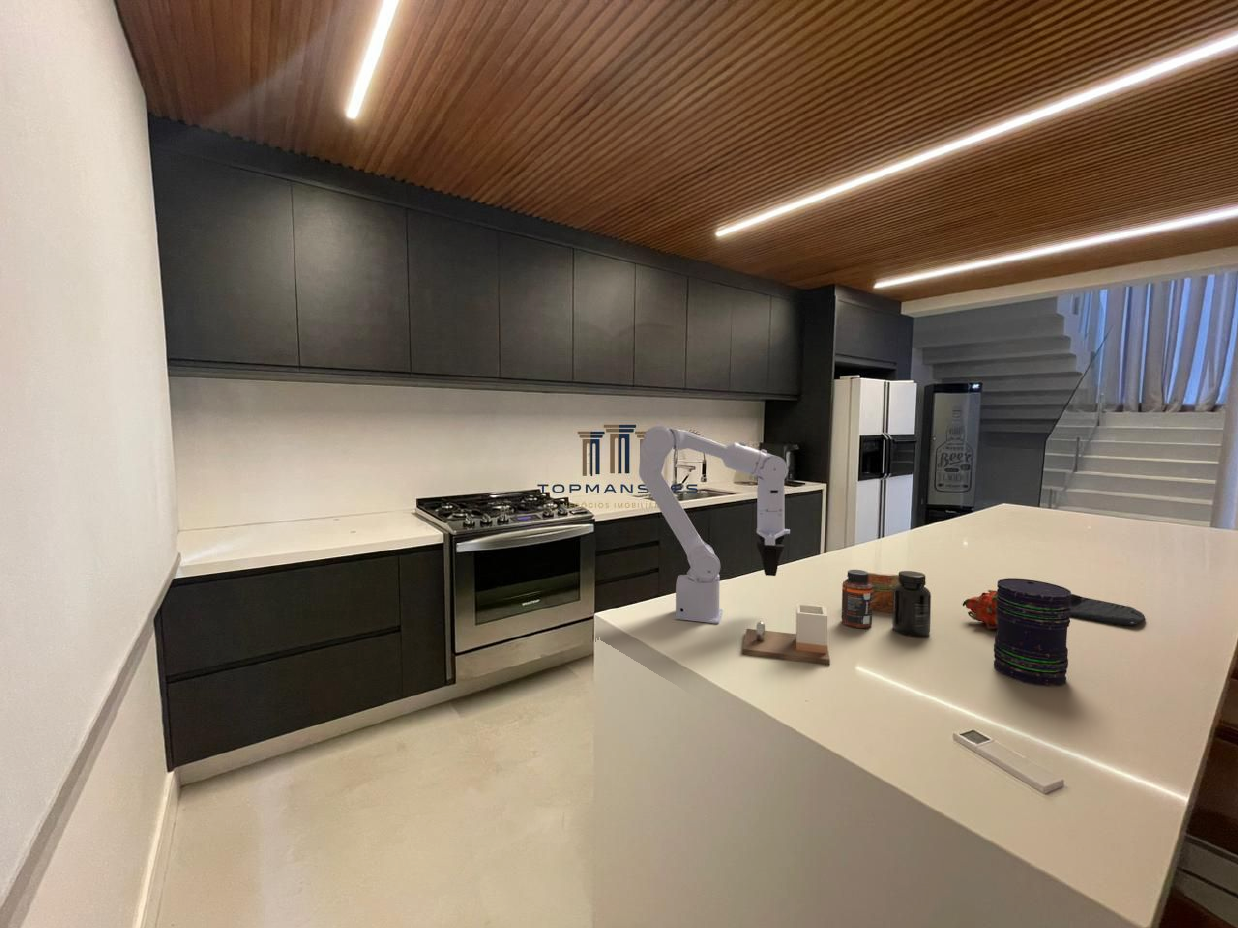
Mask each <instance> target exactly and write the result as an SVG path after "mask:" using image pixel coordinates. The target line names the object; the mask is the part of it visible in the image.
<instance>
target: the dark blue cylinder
mask: <svg viewBox="0 0 1238 928" xmlns="http://www.w3.org/2000/svg"><path fill="white" fill-rule="evenodd" d="M996 591H997V596H996V603H997V607H996V613H997V615H998V621H997V628H996V633H995V635H994V643H993V653H994V656H993V657H994V661H993V667H994V669H995V670H996V671H997V672H998V673H1000V674H1002V675H1003V676H1005V677H1007V678H1010V679H1012V680H1014V681H1017V682H1021V683H1023V684H1027V685H1033V686H1038V687H1045V688H1046V687H1047V688H1056V687H1057V686H1059V687H1062V686H1064V685H1065V684H1067V683H1066V682H1067V677H1066V674H1067V669H1068V668H1069V659H1068V657H1069V656H1068V654H1069V650H1068V647H1067V639H1068V628H1069V626H1070V623H1071V620H1070V618H1071V616H1070V615H1071V607H1070V603H1071V601H1070V598H1071V594H1072V592H1071V590H1070V589H1067V588H1066V587H1065V586H1061V585H1058V584H1055V583H1051V582H1047V581H1041V580H1035V579H1027V578H1016V577H1015V578H1014V577H1013V578H1012V577H1011V578H1001V579H999V580H997V589H996ZM1057 688H1058V687H1057Z"/></svg>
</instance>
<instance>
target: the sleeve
mask: <svg viewBox="0 0 1238 928" xmlns="http://www.w3.org/2000/svg"><path fill="white" fill-rule="evenodd" d="M795 604H796V605H795V634H796V650H800V651H809V652H817V653H825V654H827V648H828V612H827V609H826V605H825V606H824V605H816V604H803V603H795Z"/></svg>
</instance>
